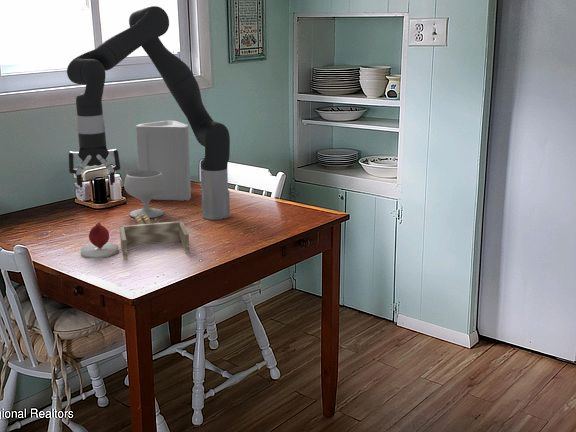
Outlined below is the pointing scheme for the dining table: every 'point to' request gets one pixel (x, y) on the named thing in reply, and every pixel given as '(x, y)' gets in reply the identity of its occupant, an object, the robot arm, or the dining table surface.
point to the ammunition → (145, 219)
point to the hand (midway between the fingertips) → (96, 185)
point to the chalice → (145, 189)
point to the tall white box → (166, 156)
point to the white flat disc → (99, 250)
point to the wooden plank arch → (153, 235)
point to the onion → (99, 235)
